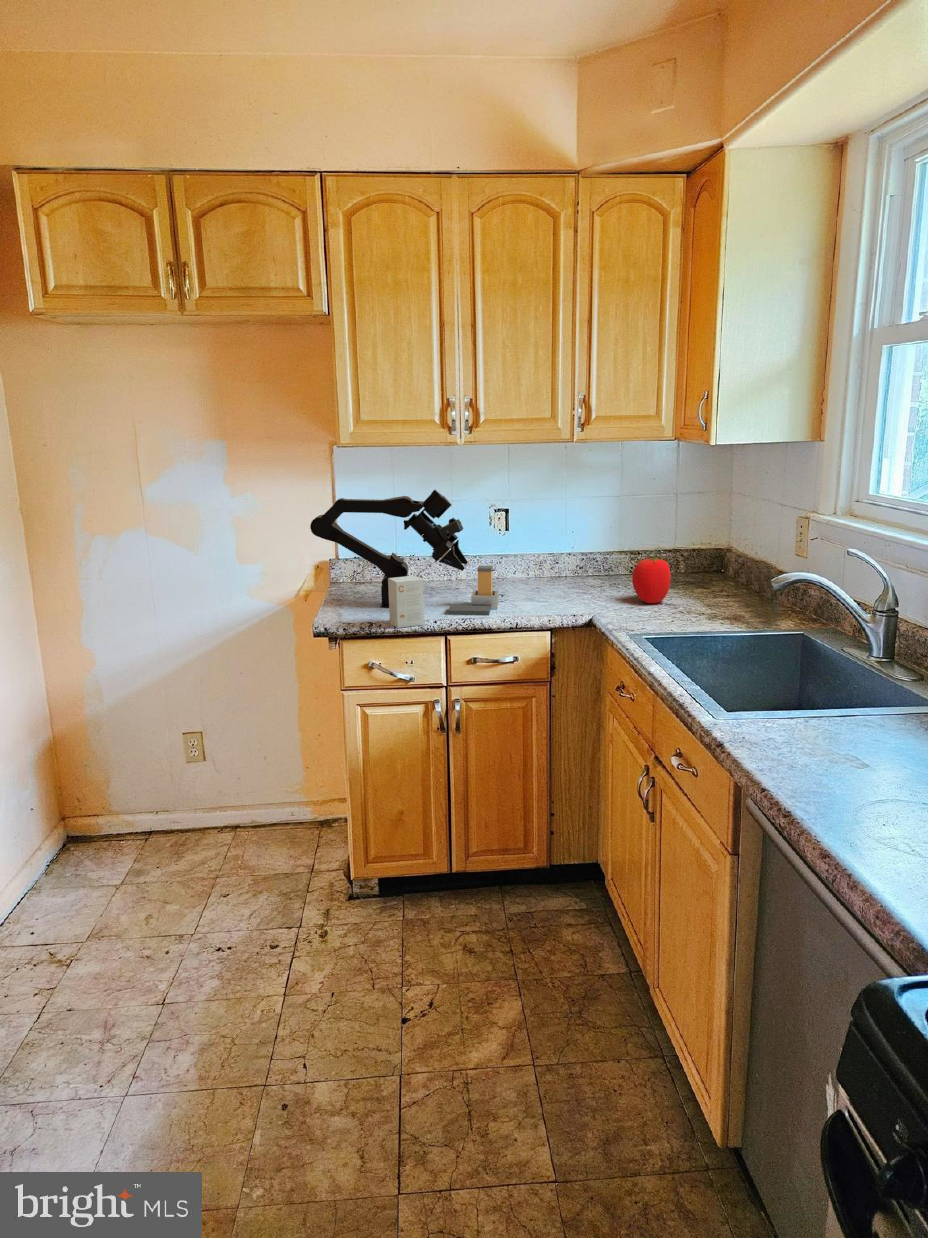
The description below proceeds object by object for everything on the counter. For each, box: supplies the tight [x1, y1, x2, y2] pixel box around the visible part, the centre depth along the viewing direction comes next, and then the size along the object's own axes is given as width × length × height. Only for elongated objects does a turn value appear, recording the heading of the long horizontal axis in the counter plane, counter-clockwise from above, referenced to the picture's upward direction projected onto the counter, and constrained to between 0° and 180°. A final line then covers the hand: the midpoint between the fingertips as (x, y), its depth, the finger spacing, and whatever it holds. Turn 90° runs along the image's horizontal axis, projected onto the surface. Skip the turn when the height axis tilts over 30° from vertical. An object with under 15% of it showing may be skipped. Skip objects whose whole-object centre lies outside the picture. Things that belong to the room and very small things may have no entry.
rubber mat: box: [447, 604, 492, 616], centre depth 245 cm, size 12×6×1 cm, turn 84°
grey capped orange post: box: [476, 565, 493, 595], centre depth 251 cm, size 4×4×12 cm
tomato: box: [631, 555, 672, 604], centre depth 254 cm, size 13×11×14 cm
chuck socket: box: [470, 589, 500, 610], centre depth 252 cm, size 8×8×4 cm
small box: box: [388, 575, 425, 629], centre depth 230 cm, size 8×6×13 cm
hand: (465, 566), depth 250 cm, fingers open, 9 cm apart
